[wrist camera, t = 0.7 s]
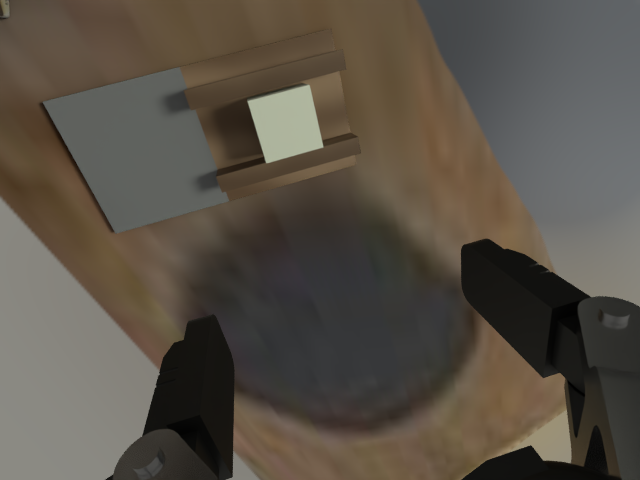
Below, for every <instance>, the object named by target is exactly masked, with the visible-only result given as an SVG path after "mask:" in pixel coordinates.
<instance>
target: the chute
mask: <svg viewBox="0 0 640 480" xmlns="http://www.w3.org/2000/svg"><path fill="white" fill-rule="evenodd" d="M180 70H181V73H182V75H183V78H184V81H185V83H186V86H187V89H186V90H184V93H185V96H186V99H187V101H188V104H189V107H190V109H191V110H196V113H197V116H198V118H199V121H200V124H201V126H202V129H203V132H204V135H205V137H206V140H207V143H208V145H209V148H210V151H211V153H212V156H213V159H214V161H215V164H216V167H217V174H216V178H217V181H218V183H219V186H220V189H221V191H222V193H223V192H226V194H227V197H228V199H229V201H231V200H235V199H238V198H242V197H245V196H249V195H252V194H256V193H259V192H263V191H266V190H270V189H273V188H277V187H280V186H284V185H287V184H291V183H294V182H298V181H301V180H305V179H308V178H312V177H315V176H318V175H322V174H325V173H329V172H332V171H336V170H339V169H343V168H346V167H350V166H353V165H356V160H355V155H357V154H360V153H361V150H360V145H359V139H358V137H357V136H356V135H354V134H352V133H350V127H349V122H348V116H347V111H346V106H345V100H344V95H343V89H342V84H341V78H340V73H339V71H342V70H346V65H345V59H344V53H343V49H341V50H336V51H335V46H334V40H333V35H332V29H327V30H323V31H319V32H315V33H311V34H307V35H304V36H300V37H296V38H292V39H288V40H284V41H280V42H276V43H272V44H268V45H264V46H260V47H256V48H252V49H248V50H244V51H241V52H237V53H233V54H229V55H225V56H221V57H217V58H213V59H209V60H205V61H201V62H197V63H193V64H189V65H185V66H182V67H180ZM300 83H304V84H308V85H310V89H311V93H312V98H313V102H314V107H315V111H316V116H317V120H318V125H319V129H320V134H321V138H322V143H323V148H320V149H316V150H312V151H309V152H305V153H302V154H298V155H295V156H291V157H287V158H284V159H280V160H277V161H273V162H270V163H266V161H265V157H264V154H263V151H262V147H261V144H260V141H259V137H258V134H257V131H256V128H255V124H254V121H253V118H252V114H251V111H250V108H249V104H248V101H247V97H251V96H255V95H258V94H262V93H266V92H270V91H273V90H277V89H281V88H285V87H289V86H292V85H296V84H300Z"/></svg>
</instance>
